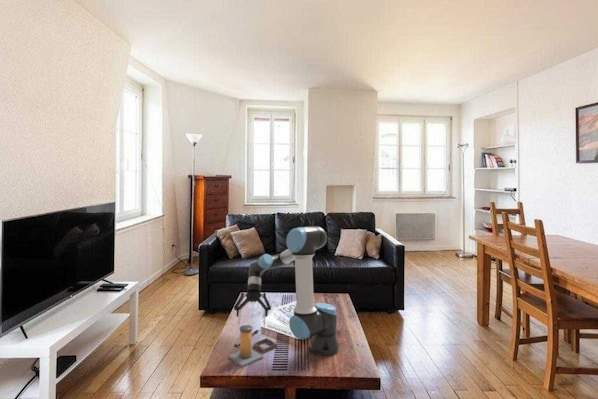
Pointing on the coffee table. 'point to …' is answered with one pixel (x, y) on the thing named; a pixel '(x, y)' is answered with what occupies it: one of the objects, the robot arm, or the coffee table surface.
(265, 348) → the square wooden frame
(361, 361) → the coffee table surface
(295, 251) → the robot arm
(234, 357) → the rubber mat
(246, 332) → the orange grey capped cylinder
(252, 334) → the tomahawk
